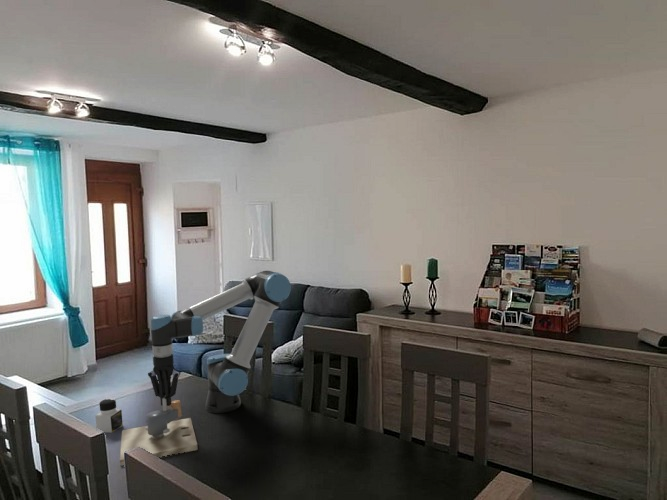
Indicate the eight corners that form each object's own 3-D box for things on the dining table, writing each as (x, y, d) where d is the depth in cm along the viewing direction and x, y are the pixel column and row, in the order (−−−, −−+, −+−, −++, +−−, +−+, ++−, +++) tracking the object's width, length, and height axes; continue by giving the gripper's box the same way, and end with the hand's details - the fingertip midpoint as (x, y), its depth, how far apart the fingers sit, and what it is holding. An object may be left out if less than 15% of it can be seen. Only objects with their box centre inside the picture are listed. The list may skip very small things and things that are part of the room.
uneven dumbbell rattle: (190, 419, 200) (188, 401, 199) (161, 437, 185) (160, 418, 184) (170, 416, 203) (168, 398, 203) (140, 433, 188) (139, 415, 188)
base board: (190, 422, 207) (190, 413, 207) (197, 449, 183) (196, 439, 182) (122, 435, 198) (121, 425, 197) (120, 465, 173) (119, 454, 173)
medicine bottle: (112, 433, 200) (109, 403, 199) (96, 432, 202) (93, 403, 200) (123, 425, 207) (120, 397, 206) (107, 424, 208) (105, 396, 207)
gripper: (142, 357, 194) (146, 416, 196) (173, 358, 191) (177, 418, 193) (153, 351, 201) (156, 408, 203) (182, 352, 199) (186, 410, 201)
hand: (166, 413), depth 198 cm, fingers closed
